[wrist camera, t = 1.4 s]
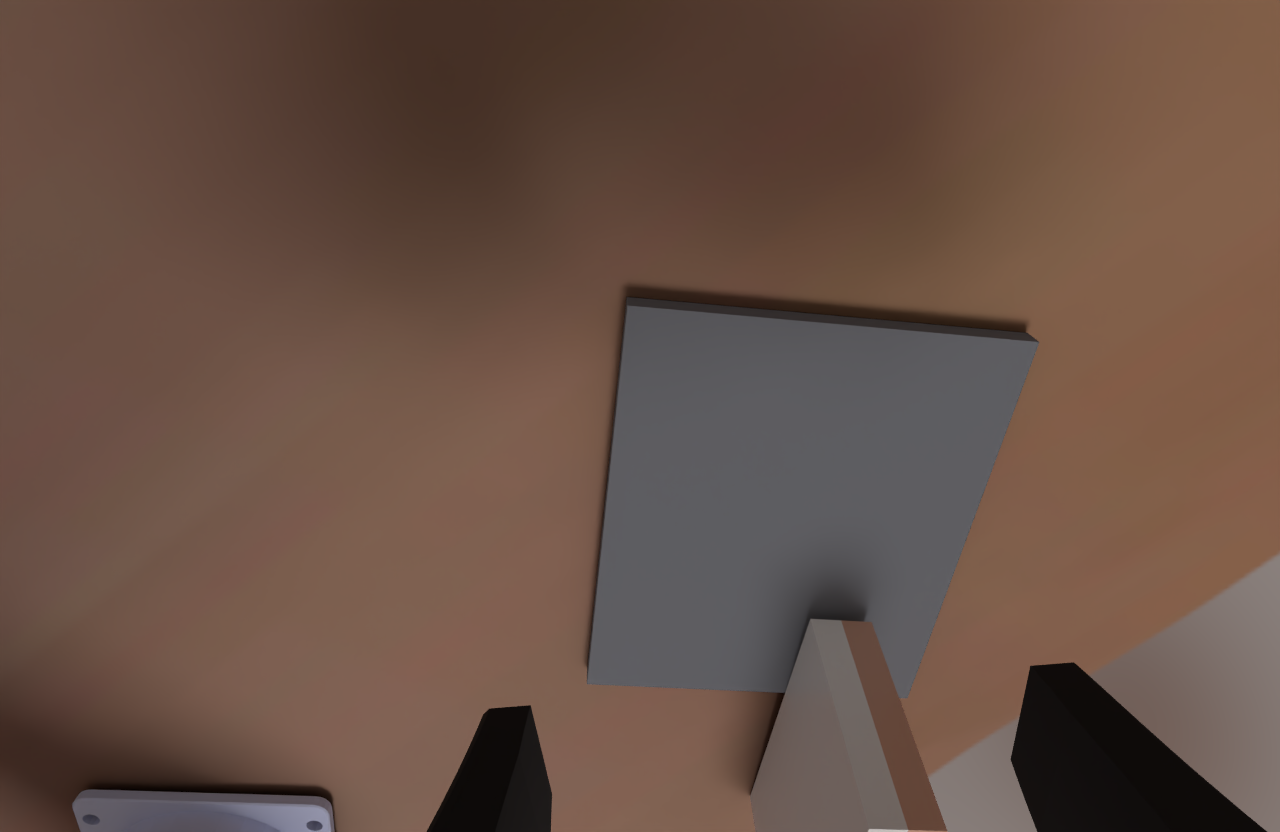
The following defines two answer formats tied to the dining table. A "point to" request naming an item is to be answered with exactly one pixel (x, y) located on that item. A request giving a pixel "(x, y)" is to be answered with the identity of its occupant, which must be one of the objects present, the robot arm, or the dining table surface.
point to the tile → (842, 744)
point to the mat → (788, 486)
